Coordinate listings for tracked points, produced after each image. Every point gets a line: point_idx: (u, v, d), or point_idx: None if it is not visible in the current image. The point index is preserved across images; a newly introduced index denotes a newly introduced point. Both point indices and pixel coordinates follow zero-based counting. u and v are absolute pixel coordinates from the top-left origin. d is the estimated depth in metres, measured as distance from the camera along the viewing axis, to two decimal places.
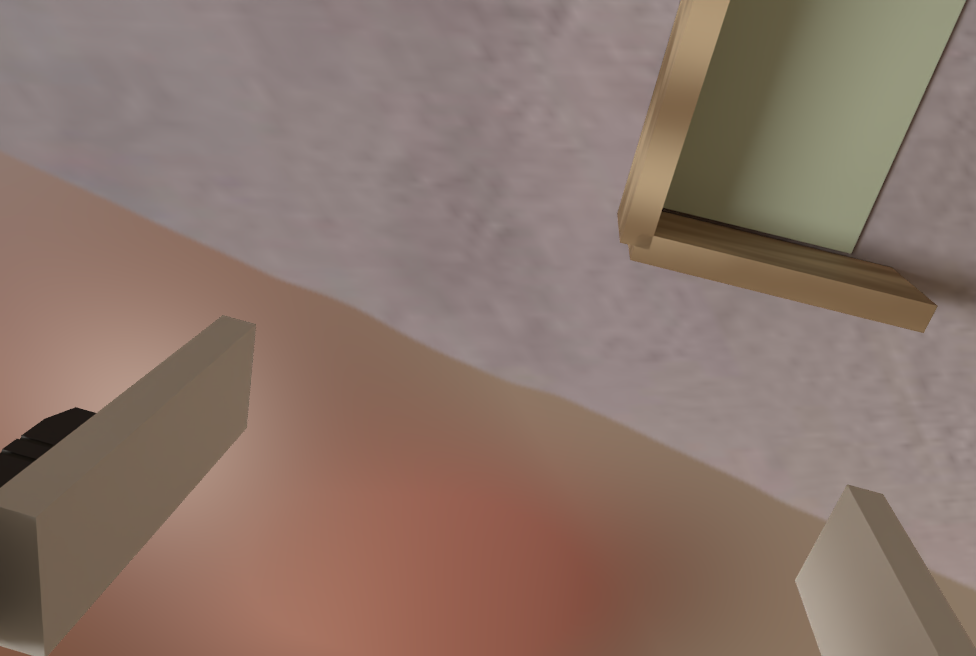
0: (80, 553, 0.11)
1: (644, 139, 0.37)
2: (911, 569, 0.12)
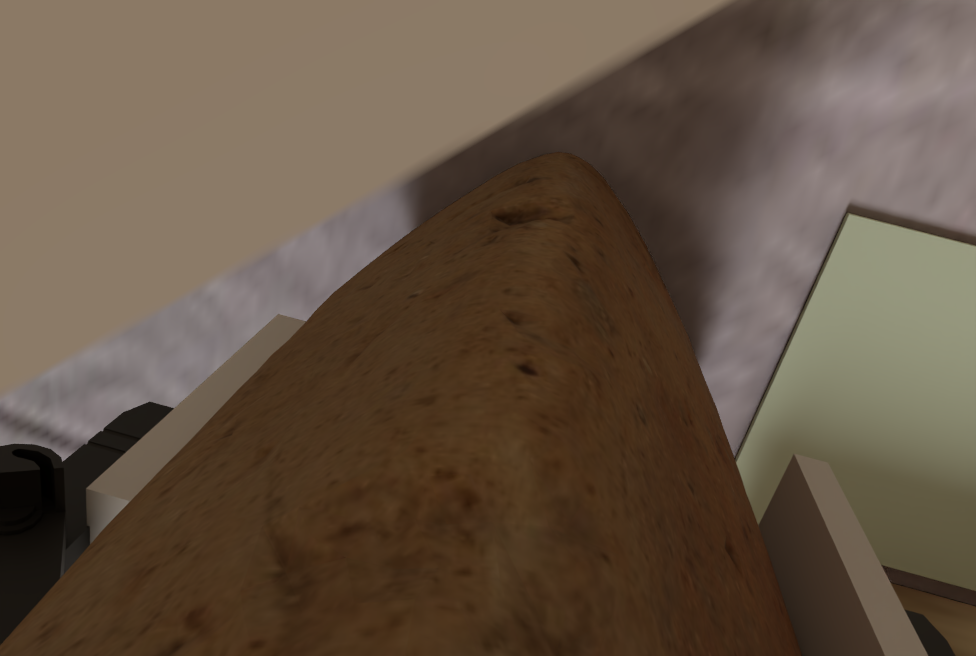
0: None
1: None
2: (846, 528, 0.13)
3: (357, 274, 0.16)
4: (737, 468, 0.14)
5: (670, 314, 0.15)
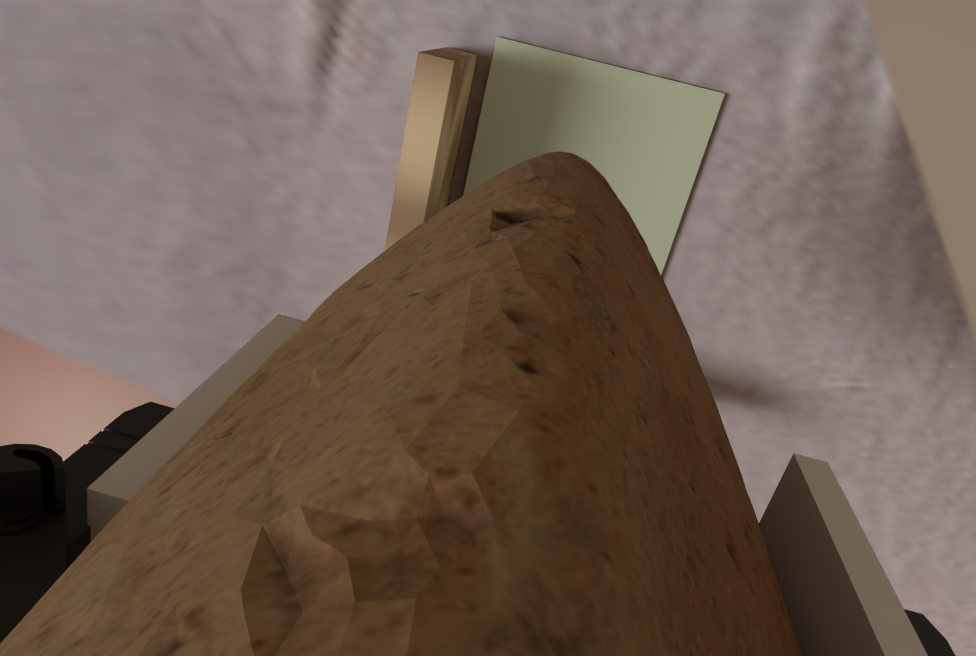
0: None
1: None
2: (846, 528, 0.13)
3: (357, 273, 0.16)
4: (738, 467, 0.14)
5: (671, 313, 0.15)
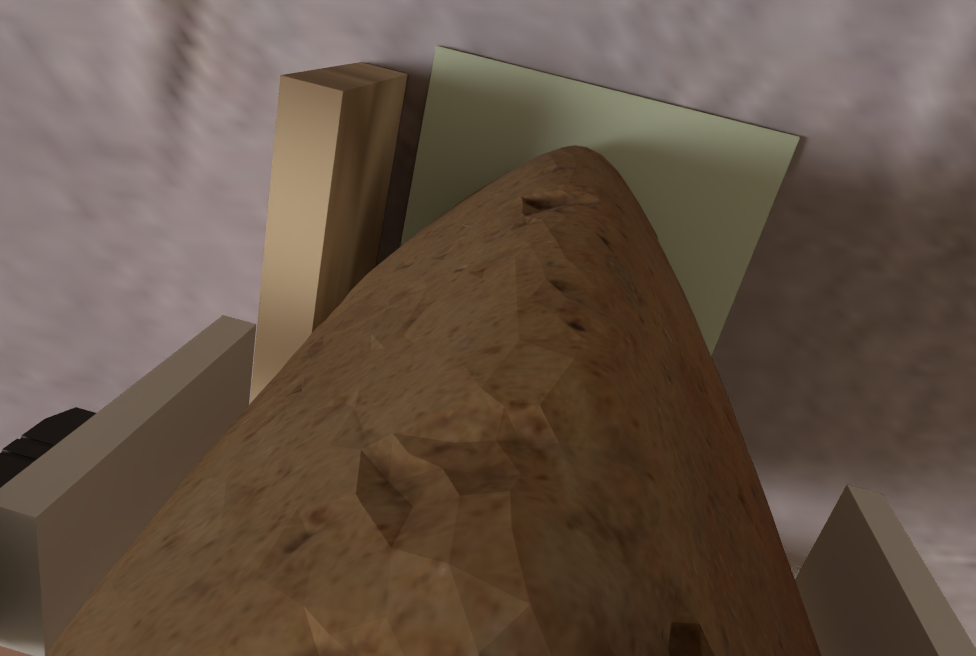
0: (80, 553, 0.11)
1: None
2: (911, 569, 0.12)
3: (390, 256, 0.17)
4: (743, 439, 0.16)
5: (682, 296, 0.17)
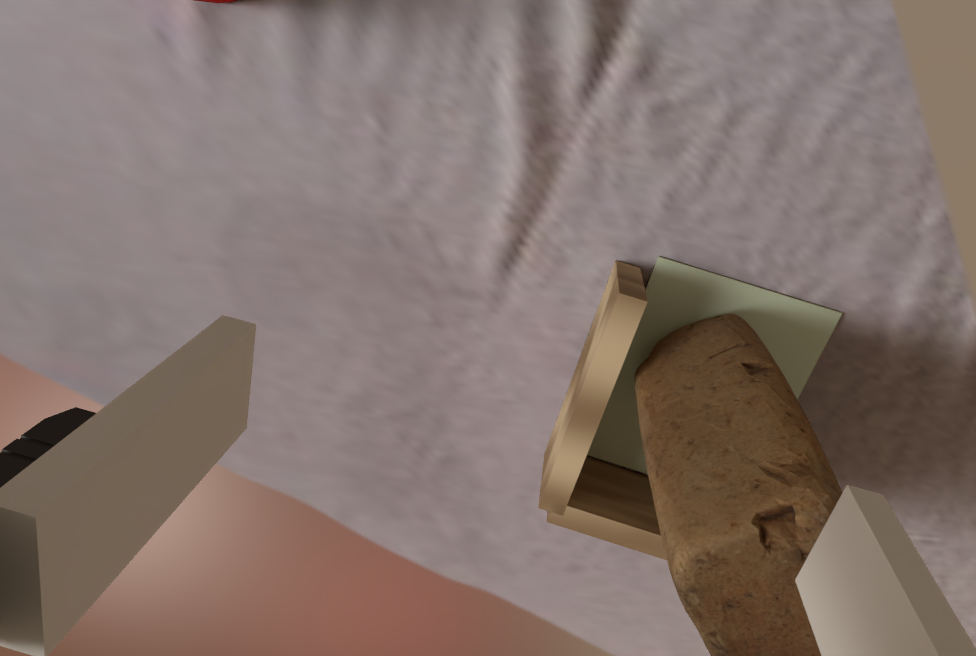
0: (80, 553, 0.11)
1: (565, 414, 0.42)
2: (911, 569, 0.12)
3: (660, 375, 0.36)
4: None
5: None
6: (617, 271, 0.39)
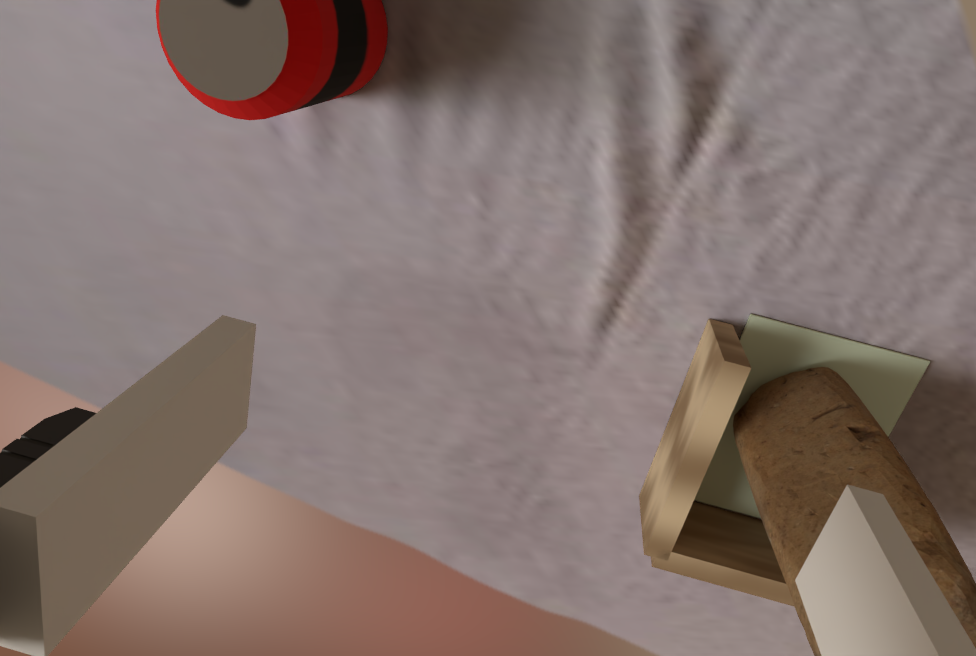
0: (80, 553, 0.11)
1: (664, 464, 0.45)
2: (911, 569, 0.12)
3: (764, 435, 0.39)
4: None
5: None
6: (714, 332, 0.42)
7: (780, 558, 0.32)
